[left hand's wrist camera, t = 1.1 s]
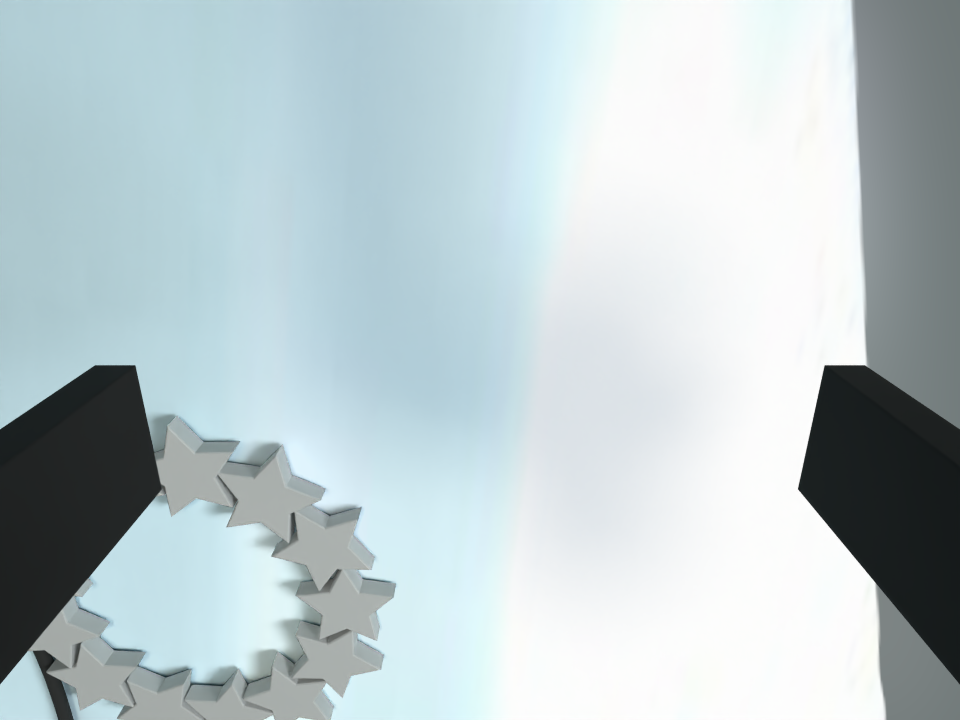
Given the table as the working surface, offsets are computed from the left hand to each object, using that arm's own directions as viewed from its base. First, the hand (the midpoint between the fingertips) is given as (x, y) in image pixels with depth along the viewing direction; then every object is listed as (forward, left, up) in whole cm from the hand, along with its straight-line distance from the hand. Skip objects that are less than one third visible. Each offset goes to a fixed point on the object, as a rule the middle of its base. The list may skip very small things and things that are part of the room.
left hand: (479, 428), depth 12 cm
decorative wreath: (+29, -21, -28) cm, 45 cm away
